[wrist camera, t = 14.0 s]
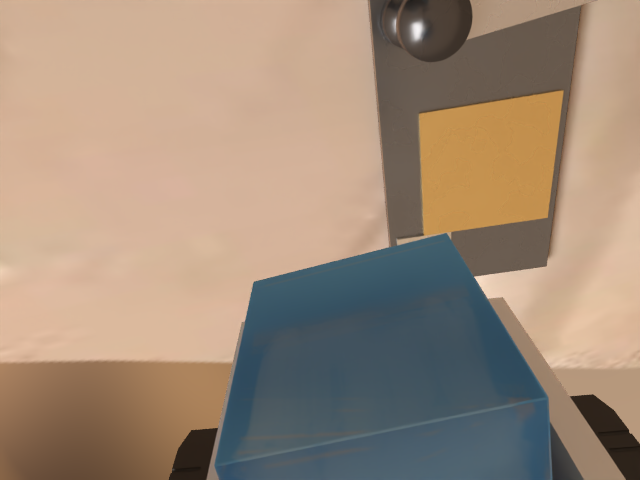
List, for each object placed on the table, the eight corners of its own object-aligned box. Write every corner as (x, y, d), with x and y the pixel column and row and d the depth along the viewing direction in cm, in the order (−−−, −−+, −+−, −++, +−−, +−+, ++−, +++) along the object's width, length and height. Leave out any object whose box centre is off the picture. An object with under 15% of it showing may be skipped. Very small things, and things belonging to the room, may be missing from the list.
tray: (364, -36, 24) (370, -39, 22) (583, -76, 23) (608, -83, 21) (392, 281, 34) (397, 298, 32) (541, 260, 34) (555, 276, 32)
